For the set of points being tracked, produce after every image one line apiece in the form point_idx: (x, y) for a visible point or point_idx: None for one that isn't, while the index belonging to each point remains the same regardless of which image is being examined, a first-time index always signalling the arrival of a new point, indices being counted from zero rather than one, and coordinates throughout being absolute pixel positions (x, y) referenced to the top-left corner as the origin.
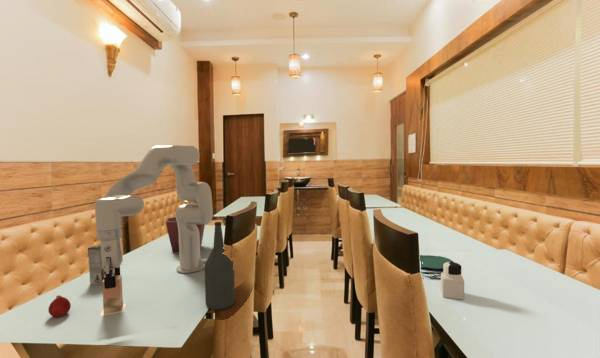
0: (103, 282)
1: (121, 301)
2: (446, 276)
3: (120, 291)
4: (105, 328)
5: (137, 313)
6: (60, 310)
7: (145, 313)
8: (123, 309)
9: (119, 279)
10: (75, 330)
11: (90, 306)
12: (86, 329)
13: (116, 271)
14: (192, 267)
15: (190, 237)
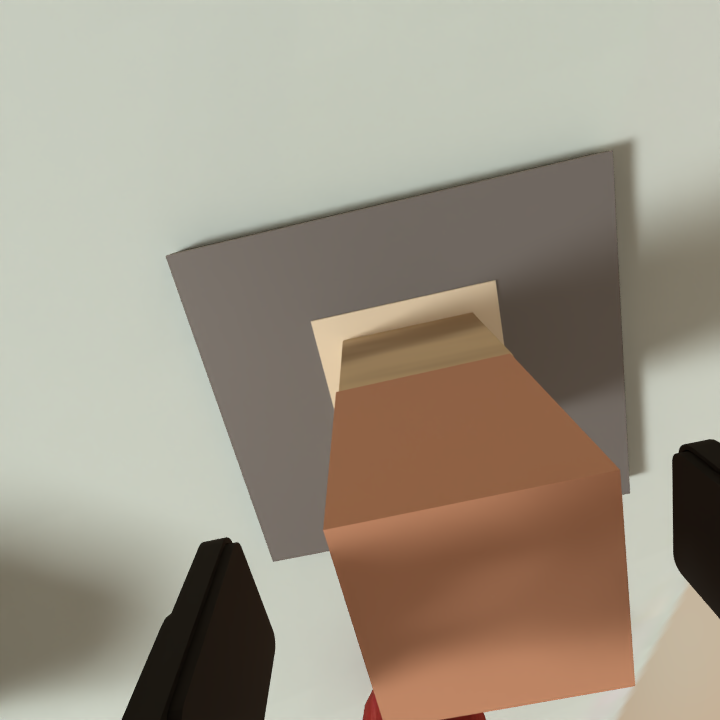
0: (627, 662)
1: (416, 345)
2: None
3: (485, 380)
4: (683, 333)
5: (489, 157)
6: (482, 715)
7: (513, 70)
8: (442, 300)
9: (604, 470)
10: (628, 515)
11: (264, 578)
12: (642, 456)
13: (226, 669)
14: None
15: None
